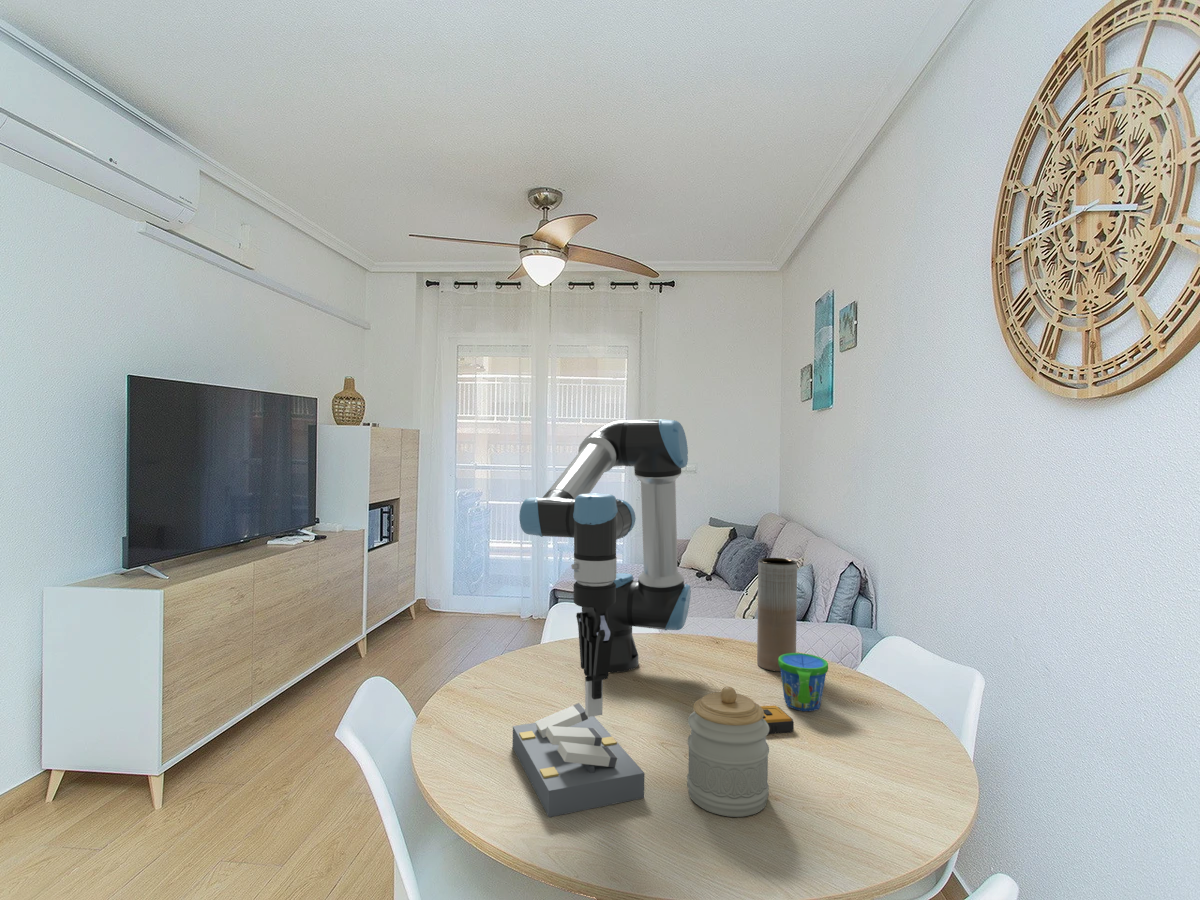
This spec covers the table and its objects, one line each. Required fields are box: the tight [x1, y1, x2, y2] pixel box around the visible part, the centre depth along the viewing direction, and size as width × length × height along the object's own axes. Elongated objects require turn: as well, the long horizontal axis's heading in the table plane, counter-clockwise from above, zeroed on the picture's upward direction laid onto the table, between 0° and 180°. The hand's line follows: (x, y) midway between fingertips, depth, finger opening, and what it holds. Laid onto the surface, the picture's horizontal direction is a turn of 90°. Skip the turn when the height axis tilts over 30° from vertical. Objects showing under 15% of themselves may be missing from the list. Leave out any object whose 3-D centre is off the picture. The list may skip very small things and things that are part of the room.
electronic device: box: [759, 705, 795, 735], centre depth 128 cm, size 8×16×3 cm, turn 101°
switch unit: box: [512, 716, 646, 818], centre depth 109 cm, size 24×16×5 cm, turn 21°
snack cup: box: [778, 652, 829, 712], centre depth 139 cm, size 16×10×10 cm
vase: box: [756, 557, 798, 673], centre depth 165 cm, size 10×10×28 cm
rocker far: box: [534, 702, 588, 738], centre depth 115 cm, size 4×9×2 cm, turn 111°
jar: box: [686, 686, 770, 818], centre depth 102 cm, size 13×13×18 cm
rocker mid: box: [545, 726, 602, 746], centre depth 109 cm, size 4×9×2 cm, turn 111°
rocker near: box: [557, 741, 618, 768], centre depth 102 cm, size 4×9×2 cm, turn 111°
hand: (593, 714), depth 111 cm, fingers closed
